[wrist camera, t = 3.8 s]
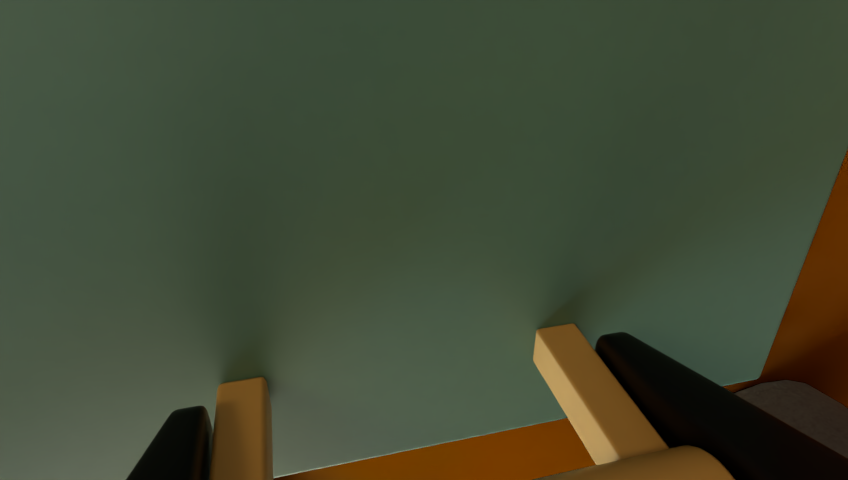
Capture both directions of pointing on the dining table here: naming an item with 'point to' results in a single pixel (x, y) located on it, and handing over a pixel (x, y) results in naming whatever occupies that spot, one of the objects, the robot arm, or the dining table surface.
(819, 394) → the bottle
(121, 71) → the box lid
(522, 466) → the dining table surface
